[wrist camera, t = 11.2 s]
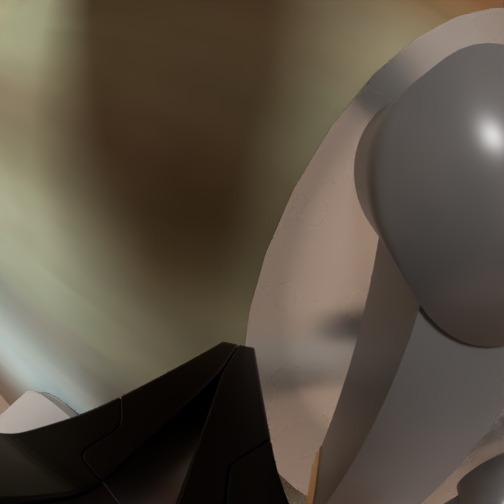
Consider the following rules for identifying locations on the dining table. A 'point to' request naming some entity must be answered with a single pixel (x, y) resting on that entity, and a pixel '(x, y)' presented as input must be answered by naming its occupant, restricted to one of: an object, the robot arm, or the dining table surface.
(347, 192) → the plate
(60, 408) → the can
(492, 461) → the grey and orange bar
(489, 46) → the foot screw
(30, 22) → the dining table surface
